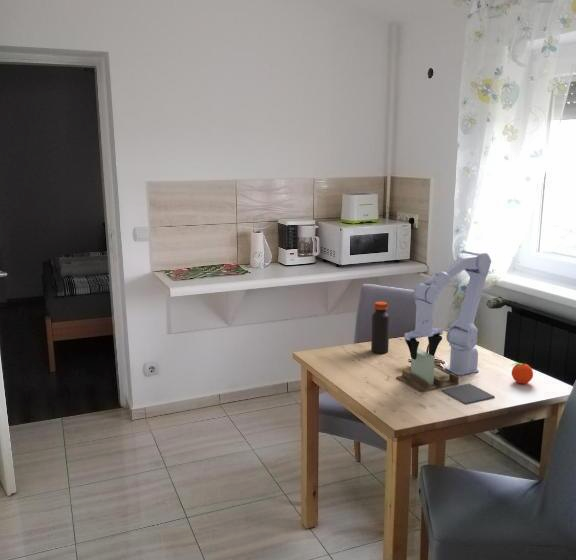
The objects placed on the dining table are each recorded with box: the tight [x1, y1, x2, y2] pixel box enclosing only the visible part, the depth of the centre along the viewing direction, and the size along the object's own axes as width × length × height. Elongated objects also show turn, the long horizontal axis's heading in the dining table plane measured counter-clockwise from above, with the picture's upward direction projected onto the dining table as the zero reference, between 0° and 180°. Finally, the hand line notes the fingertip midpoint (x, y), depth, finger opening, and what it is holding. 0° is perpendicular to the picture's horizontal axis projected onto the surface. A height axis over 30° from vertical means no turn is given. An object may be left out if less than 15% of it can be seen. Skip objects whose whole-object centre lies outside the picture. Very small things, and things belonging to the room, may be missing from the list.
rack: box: [396, 364, 460, 393], centre depth 209 cm, size 16×14×3 cm
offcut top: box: [434, 368, 450, 379], centre depth 210 cm, size 5×8×1 cm, turn 25°
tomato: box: [508, 362, 534, 384], centre depth 206 cm, size 8×7×7 cm
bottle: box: [370, 301, 390, 355], centre depth 237 cm, size 7×7×20 cm
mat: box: [440, 383, 496, 405], centre depth 197 cm, size 12×12×1 cm
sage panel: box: [410, 348, 436, 385], centre depth 207 cm, size 3×9×10 cm, turn 24°
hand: (422, 356), depth 206 cm, fingers open, 7 cm apart
